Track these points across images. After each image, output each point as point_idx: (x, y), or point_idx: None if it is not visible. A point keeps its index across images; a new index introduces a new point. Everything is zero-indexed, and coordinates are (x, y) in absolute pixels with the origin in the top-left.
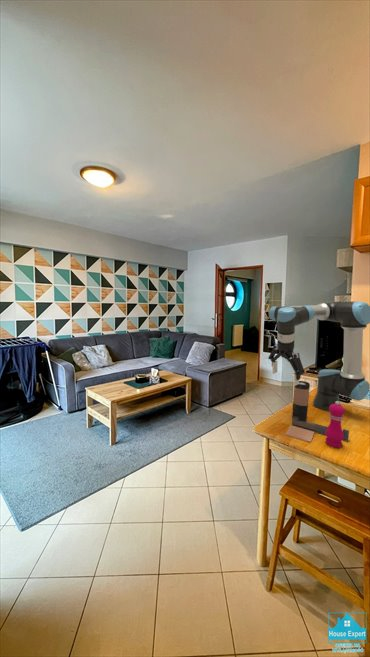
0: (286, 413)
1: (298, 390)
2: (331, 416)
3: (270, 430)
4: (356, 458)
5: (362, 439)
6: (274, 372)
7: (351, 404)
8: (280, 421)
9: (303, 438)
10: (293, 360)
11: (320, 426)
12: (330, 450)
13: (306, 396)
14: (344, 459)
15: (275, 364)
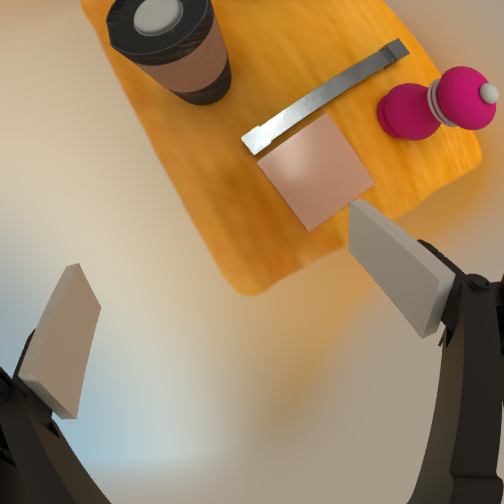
0: (151, 104)
1: (184, 63)
2: (448, 122)
3: (264, 262)
4: (458, 128)
5: (388, 12)
6: (93, 304)
7: None
8: (209, 176)
9: (353, 192)
10: (478, 474)
11: (338, 90)
12: (419, 159)
13: (220, 35)
14: (454, 163)
15: (63, 367)
